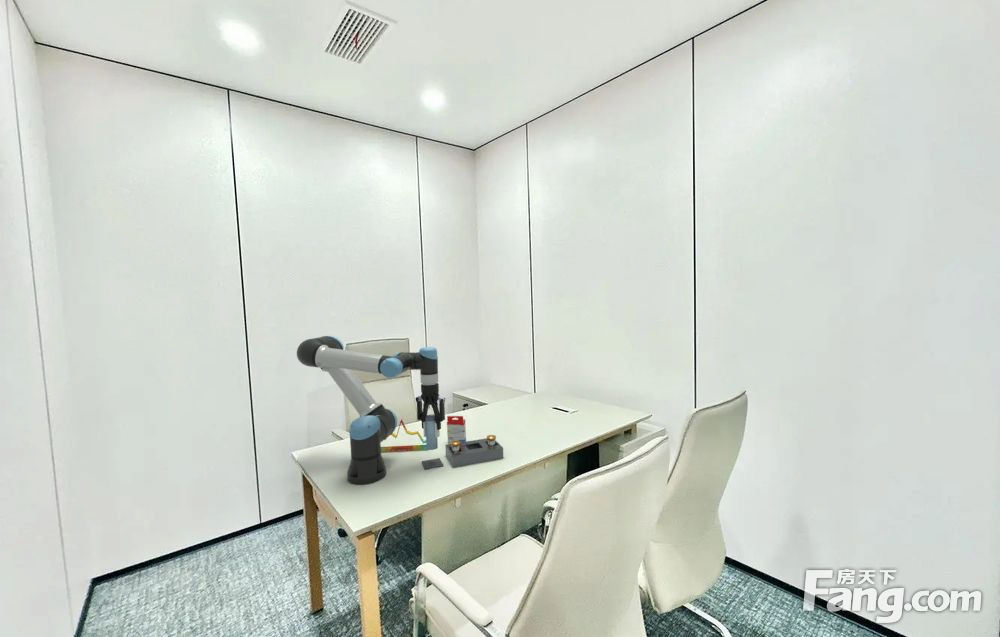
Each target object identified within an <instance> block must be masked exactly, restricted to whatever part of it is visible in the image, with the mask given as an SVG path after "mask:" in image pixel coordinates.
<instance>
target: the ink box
mask: <svg viewBox="0 0 1000 637" xmlns="http://www.w3.org/2000/svg"><path fill="white" fill-rule="evenodd" d="M446 417H447V419H446V420H447V422H446V429H447V445H448V444H451V442H452V441H460V442H467V432H466V431H467V429H466V426H467V425H466V419H464V416H463V415H447V416H446Z"/></svg>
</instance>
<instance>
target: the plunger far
mask: <svg viewBox="0 0 1000 637" xmlns="http://www.w3.org/2000/svg"><path fill="white" fill-rule="evenodd" d="M486 438H487V440H488V446H495V440H496V439H497V436H496V435H494V434H490V435H486Z"/></svg>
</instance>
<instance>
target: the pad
mask: <svg viewBox="0 0 1000 637" xmlns="http://www.w3.org/2000/svg"><path fill="white" fill-rule="evenodd" d="M421 463H422V466H423V468H424V470H432V469H436V468H437V469H438V468H442V467H444V463H443V461H442V460H441V458H439V457H437V458H432V459H426V460H422V461H421Z"/></svg>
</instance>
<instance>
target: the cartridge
mask: <svg viewBox="0 0 1000 637" xmlns="http://www.w3.org/2000/svg"><path fill="white" fill-rule="evenodd" d="M425 422H426V437H425V438H426V439H425V440H426V443H425V445H426V447H427V449H428V450H427V451H434V450H437V449H438V448H439V447H438V443H439V441H438V437H437V438H435V422H436V419H435V415H434V413H433V414H427V415H426V416H425Z"/></svg>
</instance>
